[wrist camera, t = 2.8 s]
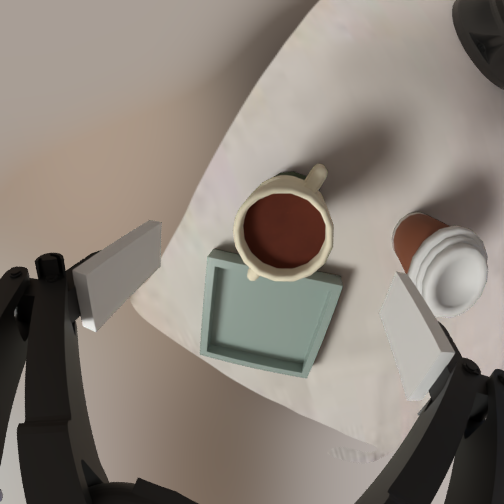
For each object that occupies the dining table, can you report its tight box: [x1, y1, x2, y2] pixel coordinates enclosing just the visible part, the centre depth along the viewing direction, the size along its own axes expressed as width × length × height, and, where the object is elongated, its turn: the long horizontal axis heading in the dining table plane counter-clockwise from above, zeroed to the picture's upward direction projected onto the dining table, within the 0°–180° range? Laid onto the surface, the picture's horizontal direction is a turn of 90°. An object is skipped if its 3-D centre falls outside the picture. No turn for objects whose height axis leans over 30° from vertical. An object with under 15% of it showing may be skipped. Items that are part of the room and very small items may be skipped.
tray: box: [200, 249, 343, 378], centre depth 36 cm, size 16×16×2 cm
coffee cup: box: [392, 212, 488, 318], centre depth 25 cm, size 9×9×12 cm
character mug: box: [233, 164, 334, 282], centre depth 25 cm, size 11×7×13 cm, turn 150°
